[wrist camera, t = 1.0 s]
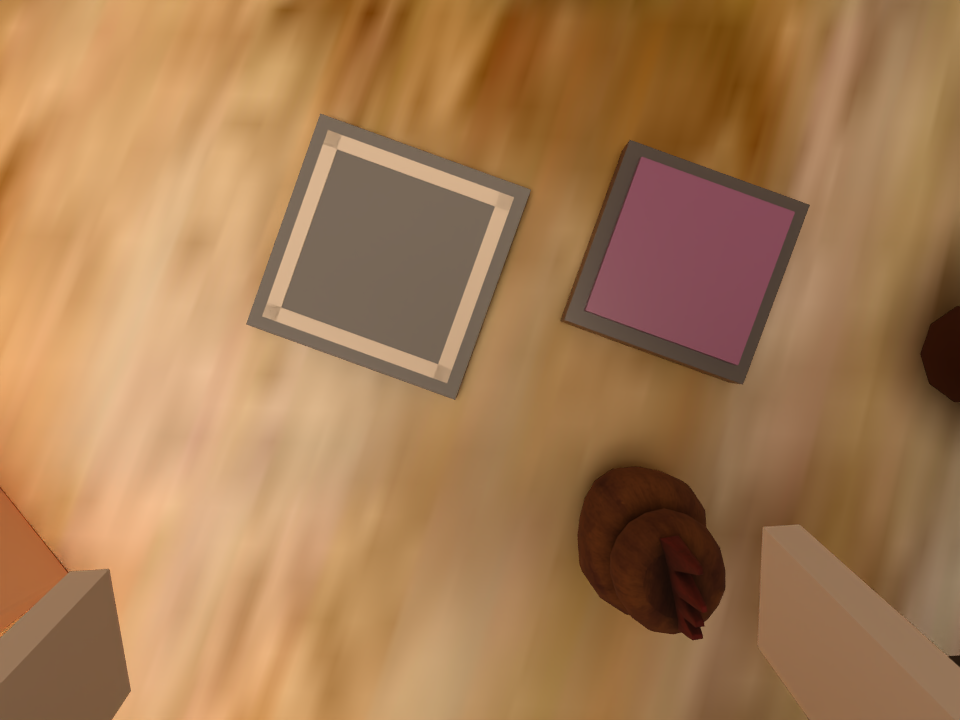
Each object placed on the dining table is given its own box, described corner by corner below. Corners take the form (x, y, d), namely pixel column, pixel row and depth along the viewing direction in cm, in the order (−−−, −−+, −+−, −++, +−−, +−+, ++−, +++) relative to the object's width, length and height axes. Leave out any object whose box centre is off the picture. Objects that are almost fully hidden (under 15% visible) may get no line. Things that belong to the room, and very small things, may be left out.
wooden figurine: (583, 446, 38) (646, 511, 23) (685, 465, 38) (812, 543, 23) (560, 564, 39) (607, 704, 24) (661, 584, 39) (773, 736, 24)
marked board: (529, 194, 38) (530, 189, 37) (455, 397, 38) (454, 399, 37) (325, 120, 38) (320, 112, 37) (253, 324, 38) (245, 324, 37)
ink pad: (792, 212, 38) (815, 202, 35) (729, 382, 38) (747, 385, 36) (622, 150, 38) (632, 136, 35) (560, 321, 38) (565, 319, 36)
